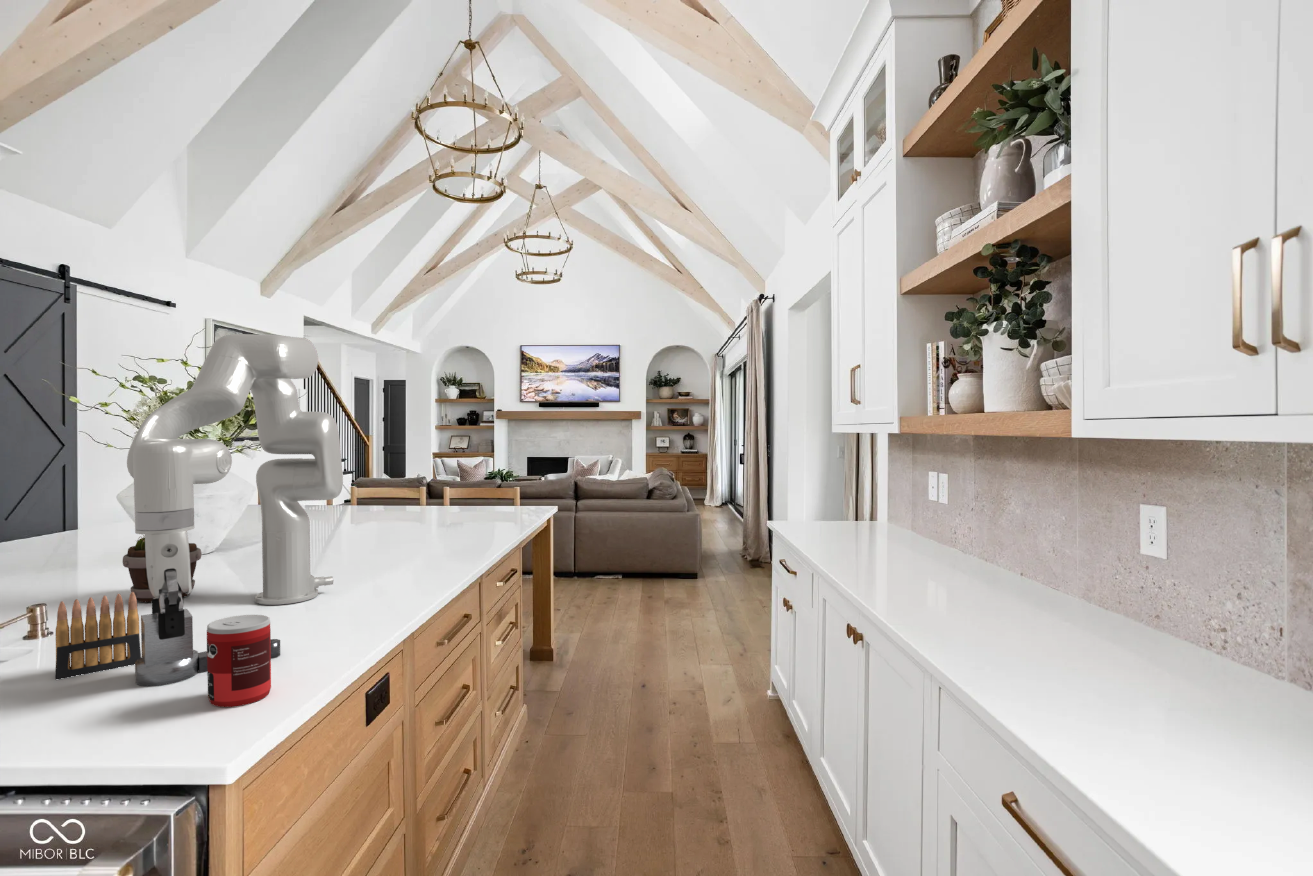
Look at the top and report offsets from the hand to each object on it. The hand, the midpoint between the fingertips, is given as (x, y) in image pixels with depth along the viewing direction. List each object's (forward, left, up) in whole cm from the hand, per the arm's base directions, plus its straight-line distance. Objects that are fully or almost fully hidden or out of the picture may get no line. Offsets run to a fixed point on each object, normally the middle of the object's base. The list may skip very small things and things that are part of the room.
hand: (168, 629), depth 107 cm
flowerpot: (-5, -61, -8) cm, 61 cm away
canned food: (-7, +17, -8) cm, 20 cm away
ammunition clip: (+8, -11, -8) cm, 15 cm away
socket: (0, 0, -4) cm, 4 cm away
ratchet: (-6, 0, -7) cm, 9 cm away
